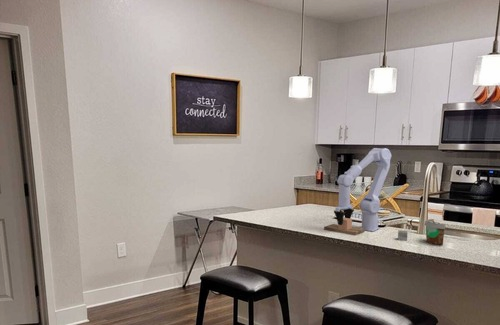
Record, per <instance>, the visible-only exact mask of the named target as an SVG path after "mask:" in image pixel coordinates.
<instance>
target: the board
mask: <svg viewBox="0 0 500 325" xmlns="http://www.w3.org/2000/svg"><path fill="white" fill-rule="evenodd" d="M323 230H325V231H330V232H336V233H341V234H346V235H352V236H358V235H360V234H363V233H365V230H364V229H360V227H353V226H352V229H348V230H345V229H339V228H338V223H337V224H336V223H331V224H329V225H325V226H324V227H323Z"/></svg>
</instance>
